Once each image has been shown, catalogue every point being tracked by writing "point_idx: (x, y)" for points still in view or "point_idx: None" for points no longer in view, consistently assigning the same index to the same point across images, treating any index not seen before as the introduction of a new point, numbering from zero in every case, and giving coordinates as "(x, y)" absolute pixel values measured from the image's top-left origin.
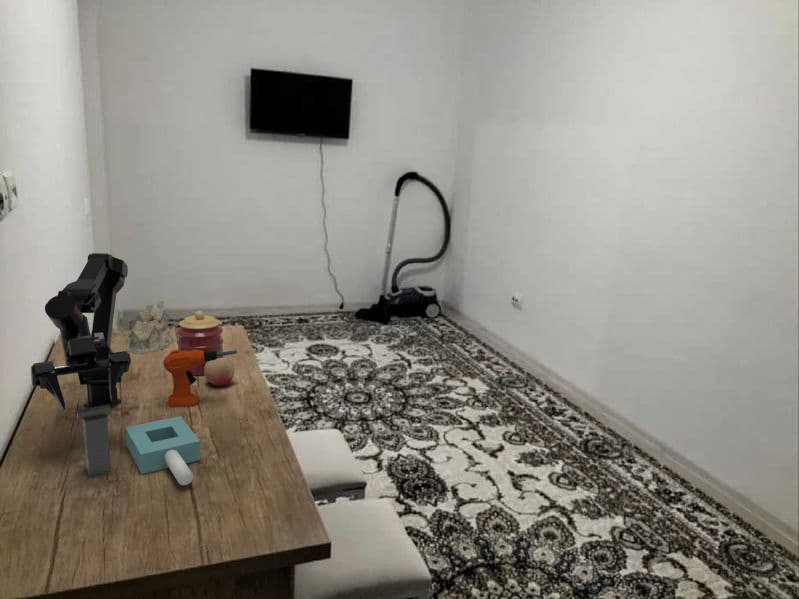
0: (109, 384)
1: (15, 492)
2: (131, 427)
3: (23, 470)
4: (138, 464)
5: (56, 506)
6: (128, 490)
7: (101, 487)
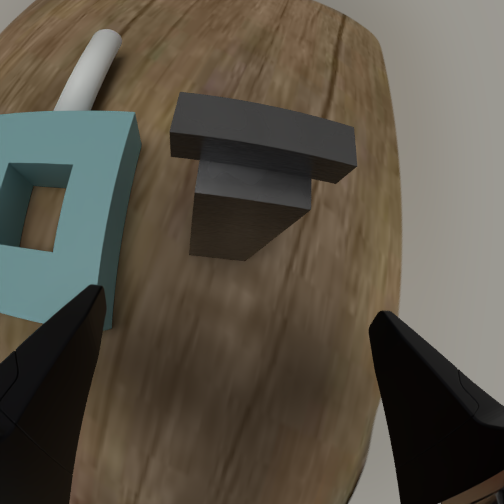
0: (68, 440)
1: (390, 238)
2: None
3: None
4: (132, 168)
5: None
6: None
7: None
